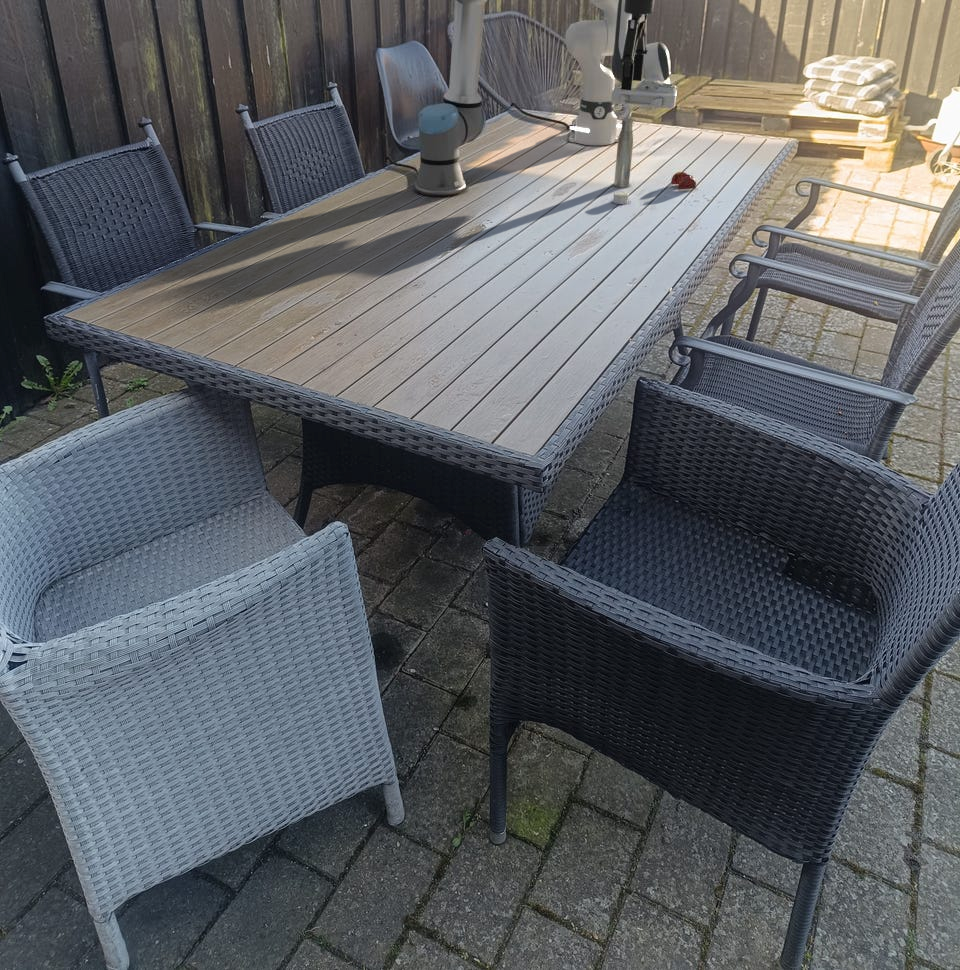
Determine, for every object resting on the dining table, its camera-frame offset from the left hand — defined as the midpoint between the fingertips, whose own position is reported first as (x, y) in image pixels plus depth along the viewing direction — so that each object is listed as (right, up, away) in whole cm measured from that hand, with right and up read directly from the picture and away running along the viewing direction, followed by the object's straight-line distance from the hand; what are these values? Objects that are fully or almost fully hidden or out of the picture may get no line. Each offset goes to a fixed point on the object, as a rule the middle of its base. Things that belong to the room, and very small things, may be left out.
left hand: (631, 85), depth 230 cm
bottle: (+3, -16, +32) cm, 36 cm away
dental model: (+21, -17, +31) cm, 41 cm away
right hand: (+7, +8, +28) cm, 30 cm away
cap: (0, -24, +17) cm, 29 cm away
